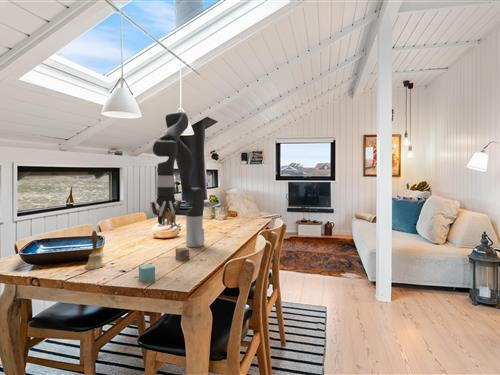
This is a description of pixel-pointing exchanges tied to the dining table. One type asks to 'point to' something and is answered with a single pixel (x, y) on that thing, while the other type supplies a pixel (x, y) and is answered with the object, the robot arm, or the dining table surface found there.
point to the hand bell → (94, 255)
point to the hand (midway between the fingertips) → (166, 223)
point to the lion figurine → (168, 217)
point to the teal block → (146, 272)
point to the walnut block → (182, 254)
